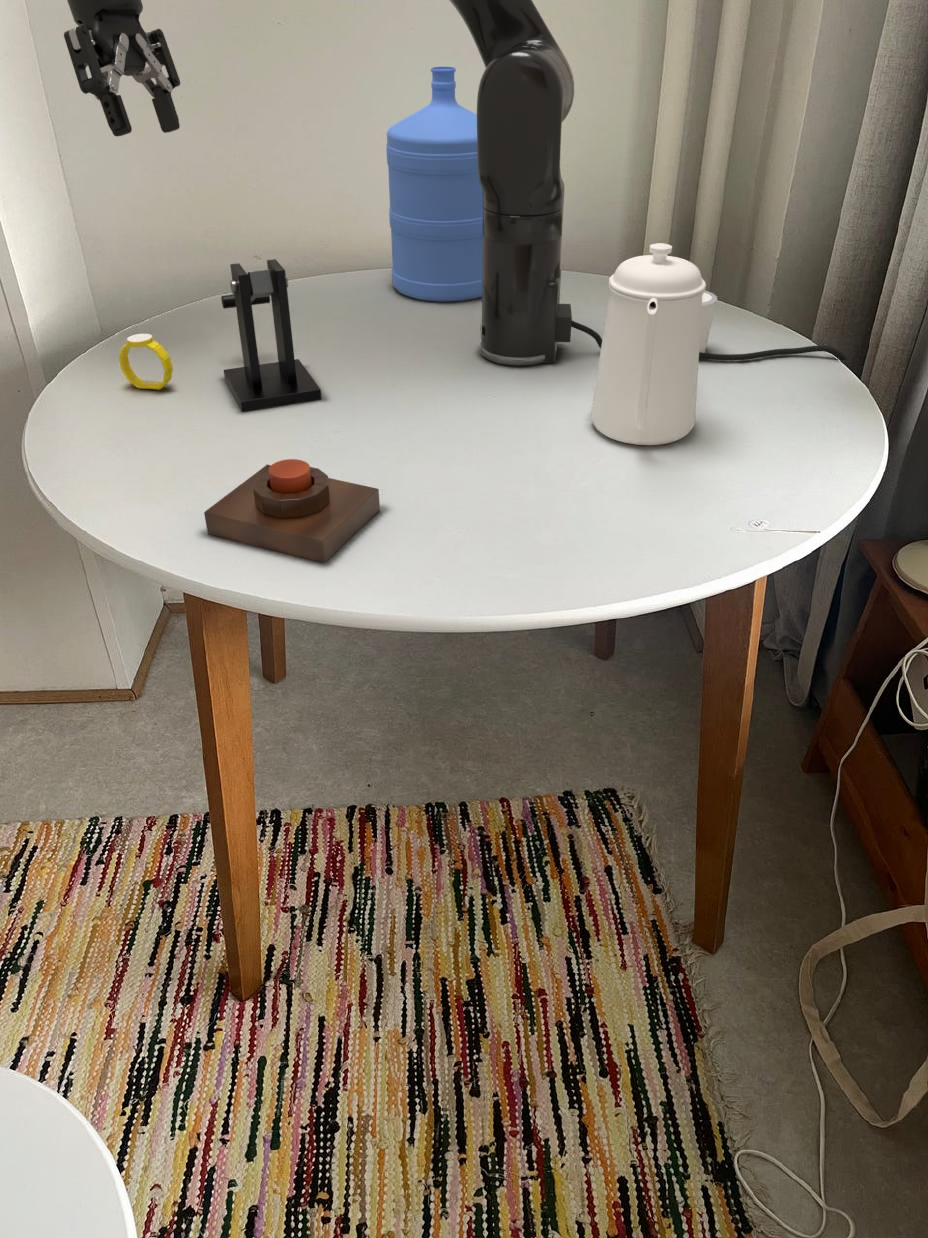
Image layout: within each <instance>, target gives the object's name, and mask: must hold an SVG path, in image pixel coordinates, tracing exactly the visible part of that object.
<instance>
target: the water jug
mask: <svg viewBox="0 0 928 1238" xmlns="http://www.w3.org/2000/svg"><path fill="white" fill-rule="evenodd" d="M456 71H457V70H456V67H453V66H433V67H431V68H430V72H431V79H432V80H431V83H430V87H431V101H430V103H429V104H428V105H426V106H424V107H423V108H421V109H419V110H417V111H415V112H414V113H411V114H410V115H408V116H406V117H405V118H403V119H402V120H400V121H398V122H396V123H394V124H393V125H391V126H390V127H389V128H388V129H387V131H386V148H385V151H386V163H387V169H388V190H389V191H388V194H389V209H388V217H389V227H390V236H391V237H390V238H391V239H390V240H391V261H392V262H391V263H392V266H391V267H392V268H391V282H392V285H393V287H394V288H395V289H396V290H397V291H398V292H399V293H401V294H403V295H404V296H406V297H409V298H413V299H417V300H421V301H429V302H445V303H446V302H463V301H468V300H475V299H477V298H482V215H483V194H482V188H481V185H480V182H479V177H478V159H477V113H475V112H473V111H471V110H470V109H468V108H466V107H464V106H462V105H460V104H459V102H457V100H456V88H457V86H456V85H457V84H456V81H455V73H456Z"/></svg>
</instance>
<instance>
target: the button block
mask: <svg viewBox="0 0 928 1238" xmlns="http://www.w3.org/2000/svg"><path fill="white" fill-rule="evenodd" d="M271 465H272V464H266V465H264V466H263V467H261V468H260V469H259V470H258V471H256V473H254V474H253V475H251V476H250V477H249V478H247V479H246V480H245V481H243V482H242V483H240V485H238V486H237V487H235V488H234V489H233V490H231V491H230V492H228V494H226V495H224V497H222V498H221V499H219V500H218V501H217V502H216V503H214V504H213V505H212V506H210V507H209V508H207V509H206V510H205V511H204V512H203V514H204V520H205V526H206V531H207V534H209V535H212V536H215V537H220V538H224V539H228V540H233V541H235V542H240V543H244V544H247V545H252V546H254V547H255V546H256V547H258V548H259V547H260V548H264V549H268V550H272V551H276V552H280V553H283V554H288V555H292V556H296V557H300V558H304V559H308V560H311V561H316V562H319V563H322V564H323V563H324V564H325V563H327V561H328V560H330V559H331V557H332V556H334V555H335V554H336V553H337V552H338V551H339V550H340V549H341V548H342V547H343V546H344V545H345V544H346V543H347V542H348V541H349V540H350V539H351V538H353V536H354V535H355V534H356V533H358V531H359V530H361V529H362V528H363V526H364V525H365V524H366V523H368V522H369V521H370V520H371V519H372V518H373V517H374V516H376V514H377V513H378V512H379V511H380V510H381V504H380V489H379V488H377V487H373V486H367V485H364V484H363V485H362V484H359V483H354V482H350V481H345V480H340V479H336V478H331V477H329V476H328V474H326V473H325V472H324V471H322V470H321V469H320V468H317V467H313V466H310V472H311V481H312V486H311V487H310V488H309V489H308V490H305V491H302V492H299V493H293V494H281V493H277V492H273V491H272V490H271V486H270V479H269V467H270V466H271Z"/></svg>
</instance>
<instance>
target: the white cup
mask: <svg viewBox="0 0 928 1238" xmlns="http://www.w3.org/2000/svg"><path fill="white" fill-rule="evenodd" d="M717 302H718V296H717V295H716V294H715V293H713V292H712V291H711V292H710V291H708V290H705V292H704V294H703V295H702V312H701V329H700V345H699V352H701V353H706V349H707V343H708V340H709V337H710V333H711V329H712V328H711V327H712V323H713V320H714V315H715V311H716V306H717Z"/></svg>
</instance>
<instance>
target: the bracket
mask: <svg viewBox="0 0 928 1238" xmlns="http://www.w3.org/2000/svg"><path fill="white" fill-rule="evenodd" d="M266 264H267V265H266V266H267V269H269V270H270V276H271V281H272V286H273V291H274V292H273V293H272V294H271V295H270V302H271V308H272V310H271V311H272V317H273V325H274V326H273V327H274V335H275V344H276V351H277V360H278V361H274V362H268V363H261V364H260V361H259V360H260V359H259V353H258V352H259V351H258V344H257V337H256V329H255V321H254V315H253V314H254V313H253V305H252V304H251V296H250V289H249V281H248V274H247V273H248V272H246V270H245V269H244V267H243V266H242V265H241V264H240V263H239V262H238V263H230V271H231V272H230V274H231V280H230V282H229V283H230V289H231V293H232V295H233V294H234V296H235V303H236V307H235V309H236V317H237V324H238V332H239V338H240V345H241V347H240V348H241V354H242V361H243V366H240V367H232V368H225V369H223V377H224V380H225V382H226V384H227V386H228V388H229V390H230V392H231V393H232V395H233V397H234V399H235V401H236V402H237V404H238V406H239V409H240V410H241V412H249V411H256V410H262V409H268V408H274V407H281V406H288V405H293V404H294V405H295V404H299V403H306V402H313V401H318V400H322V389H321V387H320V386H319V385H318V383H317V382H316V381H315V380H314V378H313V377H312V375H311V374H310V373H309V371H308V369H307V368H306V367H305V366H304V364H303V363H302V362H301V361H300V359H299V358H296V359H295V350H294V340H293V331H292V322H291V321H292V320H291V313H290V304H289V303H290V302H289V294H288V293H289V292H288V288H289V279H288V276H287V274H286V269H284V267H283V266H282V265H281V263H280V262H278V260H277V259H275V258H273V259H267V260H266Z"/></svg>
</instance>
